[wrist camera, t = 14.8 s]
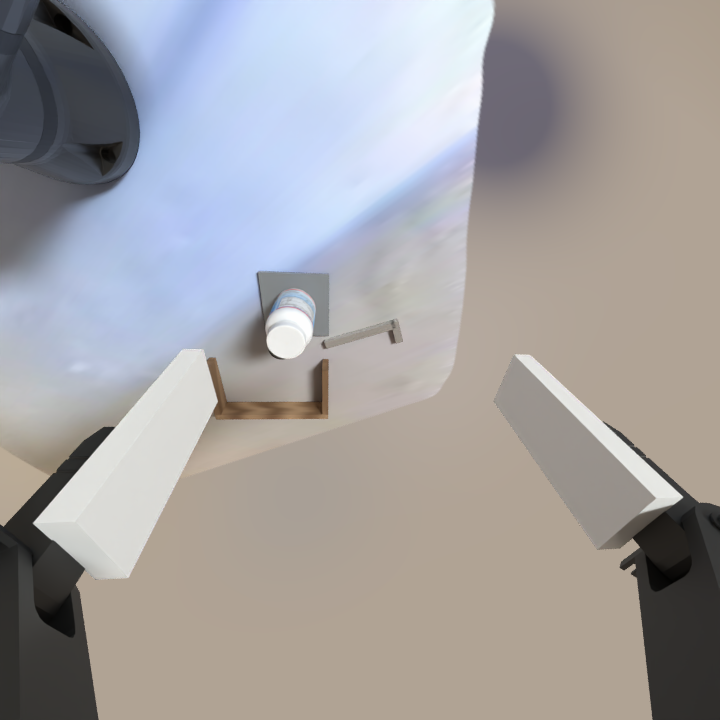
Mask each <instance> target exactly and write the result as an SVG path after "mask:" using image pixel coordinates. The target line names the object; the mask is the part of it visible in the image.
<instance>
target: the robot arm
mask: <svg viewBox="0 0 720 720" xmlns="http://www.w3.org/2000/svg"><path fill="white" fill-rule="evenodd" d="M139 138H140V130H139V120H138V114H137V110H136V106H135V102H134V99H133V96H132V93H131V91H130V88H129V86H128V83H127V81H126V79H125V77H124V75H123V73H122V71H121V70H120V68H119V66H118V64H117V63H116V61H115V59H114V58H113V56H112V55H111V53H110V52H109V51H108V49H107V48H106V46H105V45H104V44H103V43H102V41H101V40H100V39H99V38H98V36H97V35H96V34H95V33H94V32H93V31H92V30H91V29H90V28H89V26H88V25H87V24H86V23H85V22H84V21H82V20H81V19H80V18H79V17H78V16H77V15H76V14H75V13H74V12H72V11H71V10H70V9H69V8H67V7H66V6H65V5H63V4H62V3H60V2H59V1H57V0H0V163H13V164H15V165H18V166H21V167H23V168H26V169H29V170H31V171H34V172H37V173H39V174H42V175H45V176H47V177H50V178H53V179H56V180H59V181H63V182H68V183H74V184H99V183H106V182H110V181H113V180H115V179H117V178H119V177H120V176H122V175H123V174H124V173H125V172H126V171H127V170H128V169H129V168H130V167H131V165H132V163H133V162H134V160H135V157H136V154H137V151H138V146H139ZM217 402H218V400H217V397H216V393H215V389H214V386H213V382H212V379H211V375H210V372H209V368H208V364H207V361H206V357H205V354H204V350H203V349H182V351H181V352H180V353H179V354H178V355H177V356H176V358H175V359H174V360H173V361H172V362H171V363H170V365H169V366H168V367H167V368H166V369H165V370H164V372H163V373H162V374H161V375H160V376H159V377H158V378H157V380H156V381H155V382H154V383H153V384H152V385H151V387H150V388H149V389H148V390H147V391H146V392H145V394H144V395H143V396H142V397H141V398H140V399H139V401H138V402H137V403H136V404H135V405H134V406H133V408H132V409H131V410H130V411H129V412H128V413H127V415H126V416H125V417H124V418H123V419H122V420H121V421H120V423H119V424H118V425H117V426H116V427H103V428H102V429H100V430H99V431H97V432H96V433H94V434H93V435H92V436H90V437H89V438H87V439H86V440H84V441H83V442H82V443H81V444H80V445H79V446H78V448H77V449H76V450H75V451H74V452H73V453H72V454H71V455H70V456H69V459H68V460H65V461H64V463H63V464H62V465H61V466H60V467H59V468H58V469H57V472H56V473H53V474H52V475H51V476H50V478H49V479H48V480H47V481H46V482H45V483H44V484H43V485H42V486H41V487H40V488H39V489H38V490H37V491H36V493H35V494H34V495H33V496H32V497H31V498H30V499H29V500H28V501H27V502H26V503H25V504H24V505H23V506H22V508H21V509H20V510H19V511H18V512H17V513H16V514H15V515H14V516H13V517H12V518H11V519H10V520H9V521H8V522H7V524H6V525H5V526H4V527H3V526H2V525H0V720H98V713H97V707H96V700H95V693H94V687H93V680H92V673H91V666H90V659H89V653H88V646H87V639H86V632H85V626H84V619H83V613H82V606H81V599H80V592H79V590H78V588H77V587H76V585H75V584H76V583H77V581H78V579H79V578H80V577H81V575H82V573H83V572H84V570H85V571H86V572H88V573H89V574H90V575H91V576H92V577H93V578H94V579H95V580H99V579H114V578H128V577H129V575H130V573H131V571H132V569H133V567H134V566H135V564H136V562H137V560H138V558H139V556H140V554H141V552H142V550H143V548H144V546H145V544H146V542H147V540H148V538H149V536H150V534H151V532H152V530H153V528H154V526H155V524H156V522H157V520H158V518H159V516H160V514H161V512H162V510H163V509H164V506H165V505H166V503H167V501H168V499H169V497H170V495H171V493H172V491H173V489H174V487H175V485H176V483H177V481H178V479H179V477H180V475H181V473H182V471H183V469H184V467H185V465H186V463H187V461H188V459H189V457H190V455H191V453H192V452H193V450H194V448H195V446H196V444H197V442H198V440H199V438H200V436H201V434H202V432H203V430H204V428H205V426H206V424H207V422H208V420H209V418H210V416H211V414H212V412H213V410H214V408H215V406H216V404H217ZM494 403H495V404H496V405H497V407H498V408H499V410H500V411H501V413H502V414H503V416H504V417H505V418H506V420H507V421H508V423H509V424H510V426H511V427H512V428H513V430H514V431H515V433H516V434H517V435H518V437H519V438H520V440H521V441H522V443H523V444H524V445H525V447H526V448H527V450H528V451H529V453H530V454H531V456H532V457H533V459H534V460H535V461H536V463H537V464H538V465H539V467H540V468H541V470H542V471H543V473H544V474H545V476H546V477H547V478H548V480H549V481H550V483H551V484H552V486H553V487H554V489H555V490H556V491H557V493H558V494H559V495H560V497H561V499H562V500H563V501H564V503H565V504H566V506H567V507H568V509H569V510H570V511H571V513H572V514H573V516H574V517H575V518H576V520H577V521H578V523H579V524H580V526H581V527H582V529H583V530H584V531H585V533H586V534H587V536H588V537H589V539H590V540H591V542H592V543H593V544H594V546H595V547H596V549H597V550H600V549H616V548H621V547H622V546H623V545H625V544H626V543H627V542H628V541H630V540H631V539H632V538H633V539H634V540H635V541H636V543H637V544H638V545H639V546H640V548H639V549H637V550H636V551H635V552H633V553H632V554H631V555H630V556H628V557H627V558H626V559H624V560H623V561H622V562H621V564H620V568H621V569H623V570H625V569H627V568H628V567H630V566H631V565H632V564H636V569H635V570H634V571H632V573H631V574H632V575H633V576H635V577H637V582H638V591H639V600H640V609H641V618H642V627H643V637H644V646H645V655H646V664H647V673H648V682H649V691H650V700H651V709H652V717H653V718H652V719H653V720H720V507H719V506H716V505H713V504H710V503H699V502H697V501H696V500H695V499H694V498H692V497H691V496H690V495H689V494H688V493H687V492H686V491H685V490H684V489H682V488H681V487H680V486H679V485H678V484H677V483H676V482H675V481H674V480H673V479H671V478H670V477H669V476H668V475H667V474H666V473H665V472H664V471H663V470H662V469H660V468H659V467H658V466H657V465H656V464H655V463H654V462H653V461H652V460H650V459H649V458H646V455H645V454H643V452H642V451H641V450H639V449H638V448H637V447H634V444H633V443H632V442H631V441H629V440H628V439H627V438H626V437H625V436H624V435H623V434H622V433H621V432H619V431H618V430H616V429H614V428H613V427H611V426H610V425H608V424H607V423H605V422H602V421H601V420H600V419H599V418H597V417H596V416H595V415H594V414H593V413H592V412H591V411H590V410H589V409H588V408H587V407H586V406H585V405H583V404H582V403H581V402H580V401H579V400H578V399H577V398H576V397H575V396H574V395H573V394H572V393H571V392H570V391H568V390H567V389H566V388H565V387H564V386H563V385H562V384H561V383H560V382H559V381H558V380H557V379H555V378H554V377H553V376H552V375H551V374H550V373H549V372H548V371H547V370H546V369H545V368H544V367H543V366H541V365H540V364H539V363H538V362H537V361H536V360H535V359H534V358H533V357H532V356H531V355H514V356H513V358H512V360H511V362H510V365H509V367H508V369H507V371H506V374H505V376H504V379H503V381H502V383H501V385H500V388H499V390H498V392H497V394H496V397H495V399H494Z"/></svg>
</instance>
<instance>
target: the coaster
mask: <svg viewBox="0 0 720 720" xmlns="http://www.w3.org/2000/svg"><path fill="white" fill-rule="evenodd" d="M258 277H259V284H260V292H261V300H262V307H263V315H264V322H265V326H266V321H267V319H268V316H269V314H270V312H271V310H272V307H273V305H274V303H275V301H276V299H277V297H278V295H279V294H280V293H281V292H283V291H285V290H287V289H292V288H296V289H300V290H303V291H304V292H306V293H307V294H308V295H310V297H311V298H312V299H313V301H314V303H315V307H316V313H315V321H314V328H313V335H312V336H329V274H316V273H294V272H271V271H258Z"/></svg>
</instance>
